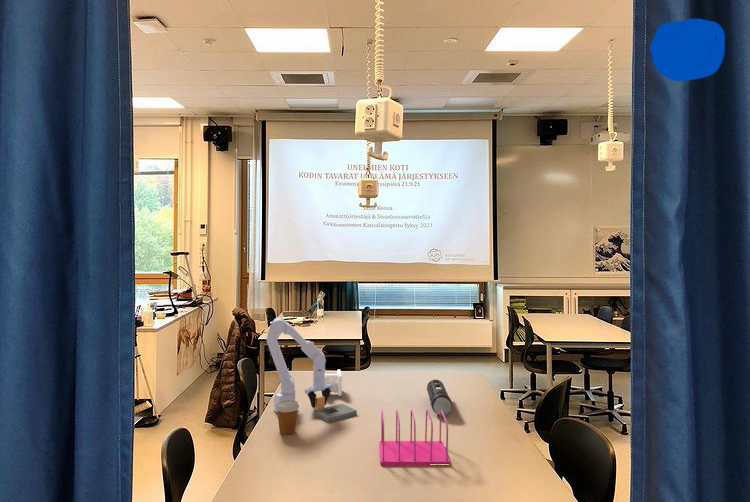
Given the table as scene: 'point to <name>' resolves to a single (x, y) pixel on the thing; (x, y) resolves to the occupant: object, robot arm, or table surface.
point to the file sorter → (413, 447)
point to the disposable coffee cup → (287, 416)
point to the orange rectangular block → (319, 402)
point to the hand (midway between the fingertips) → (318, 405)
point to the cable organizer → (335, 382)
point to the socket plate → (335, 412)
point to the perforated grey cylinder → (439, 397)
